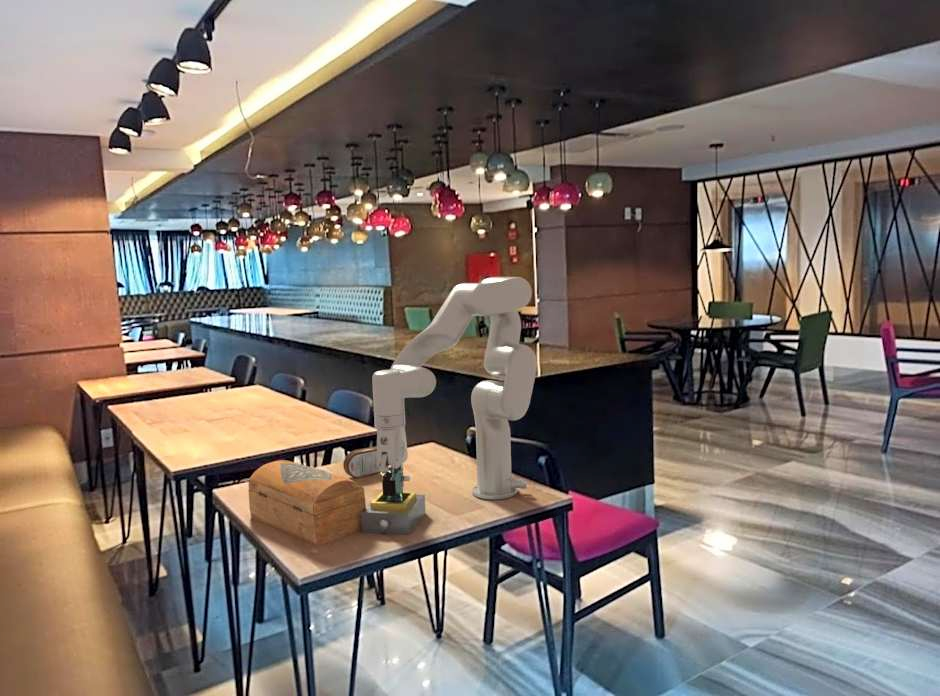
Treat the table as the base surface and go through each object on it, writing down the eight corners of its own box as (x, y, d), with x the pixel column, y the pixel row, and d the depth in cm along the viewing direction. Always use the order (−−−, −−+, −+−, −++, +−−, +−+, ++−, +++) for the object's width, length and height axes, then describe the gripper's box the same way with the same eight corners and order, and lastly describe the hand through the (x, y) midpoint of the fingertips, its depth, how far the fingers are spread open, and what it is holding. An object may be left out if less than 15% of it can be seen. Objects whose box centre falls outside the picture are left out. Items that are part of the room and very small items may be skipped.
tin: (387, 469, 218) (386, 443, 217) (392, 471, 216) (390, 445, 215) (343, 478, 210) (342, 452, 209) (348, 481, 207) (346, 454, 206)
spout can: (413, 499, 173) (411, 468, 172) (407, 506, 168) (405, 474, 167) (387, 498, 175) (385, 467, 174) (380, 505, 170) (379, 473, 169)
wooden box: (371, 527, 170) (368, 472, 169) (314, 548, 159) (311, 490, 157) (304, 501, 191) (300, 452, 189) (249, 518, 179) (245, 467, 178)
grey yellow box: (425, 513, 178) (424, 489, 177) (407, 537, 163) (406, 510, 162) (381, 511, 180) (380, 487, 180) (359, 534, 165) (358, 508, 165)
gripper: (393, 429, 160) (397, 504, 162) (414, 412, 177) (417, 481, 179) (362, 428, 162) (367, 502, 164) (386, 412, 178) (390, 480, 181)
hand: (393, 490), depth 171 cm, fingers open, 5 cm apart
